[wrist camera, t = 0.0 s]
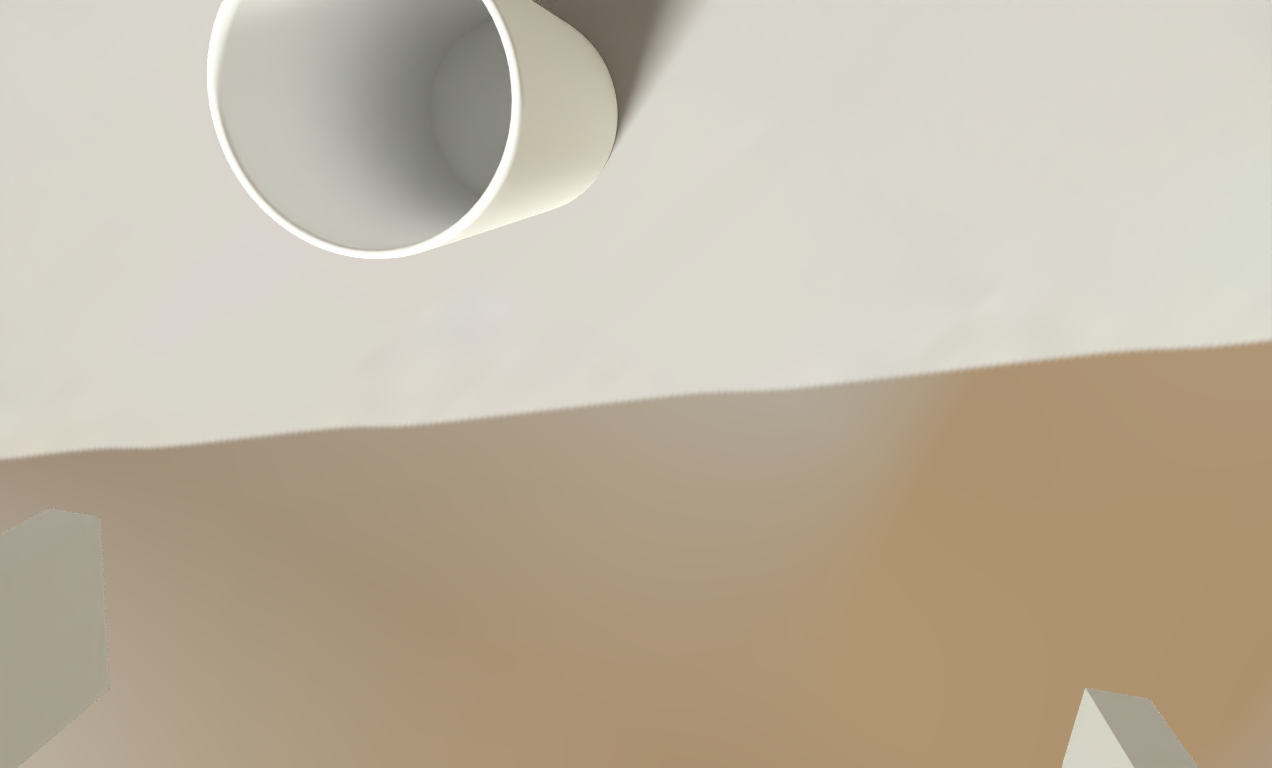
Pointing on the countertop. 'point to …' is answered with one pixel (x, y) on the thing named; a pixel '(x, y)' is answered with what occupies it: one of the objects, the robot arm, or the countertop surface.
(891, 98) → the countertop surface
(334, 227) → the cup
